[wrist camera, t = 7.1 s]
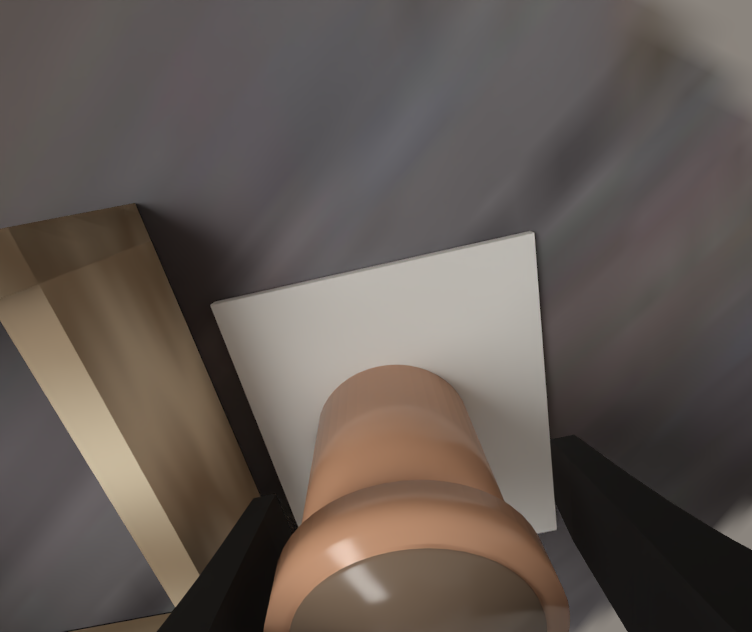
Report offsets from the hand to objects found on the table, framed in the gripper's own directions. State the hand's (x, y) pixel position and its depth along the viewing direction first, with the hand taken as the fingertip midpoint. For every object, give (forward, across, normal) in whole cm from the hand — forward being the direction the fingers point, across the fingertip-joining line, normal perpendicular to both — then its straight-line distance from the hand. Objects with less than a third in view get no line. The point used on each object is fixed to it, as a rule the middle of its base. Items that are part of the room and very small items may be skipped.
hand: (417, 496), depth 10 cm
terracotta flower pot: (+3, 0, 0) cm, 3 cm away
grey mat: (+3, 0, 0) cm, 3 cm away
